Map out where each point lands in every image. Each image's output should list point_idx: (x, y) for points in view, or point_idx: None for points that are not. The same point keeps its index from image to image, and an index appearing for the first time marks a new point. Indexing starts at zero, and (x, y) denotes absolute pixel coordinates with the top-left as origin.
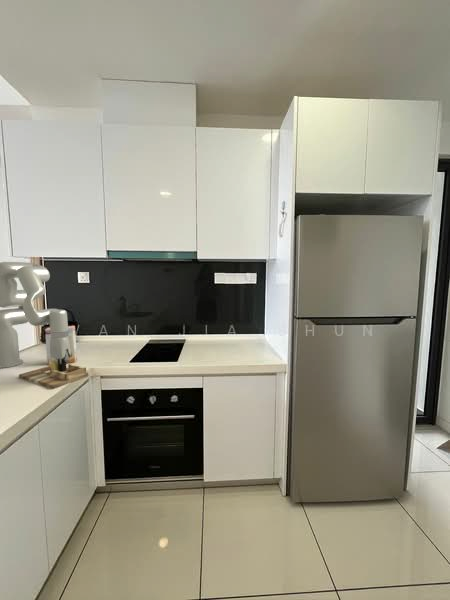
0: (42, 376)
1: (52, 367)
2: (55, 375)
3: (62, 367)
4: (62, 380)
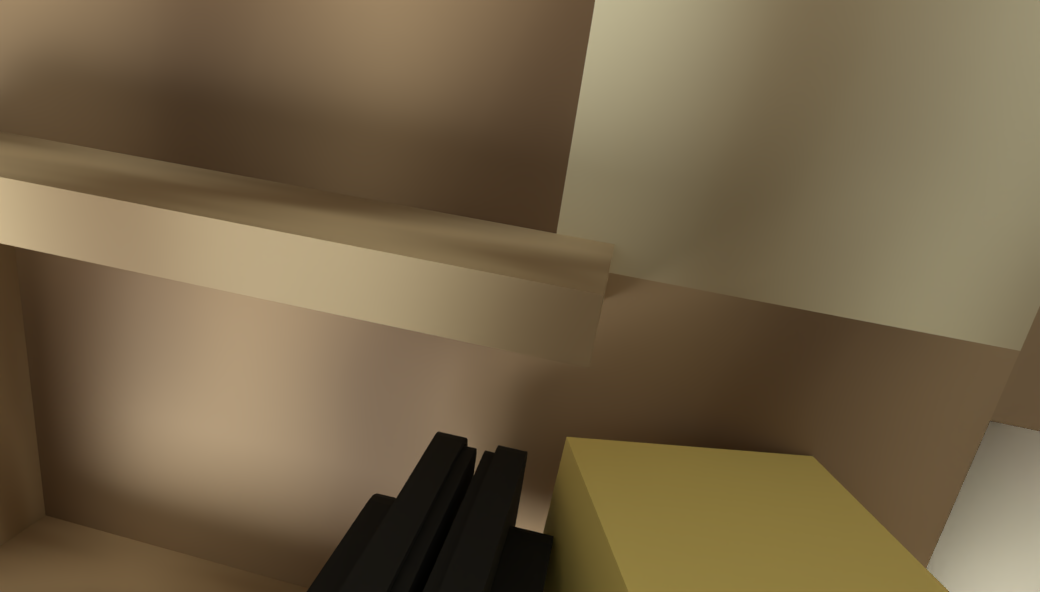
0: (819, 142)
1: (800, 548)
2: (340, 206)
3: (344, 541)
4: (39, 101)
